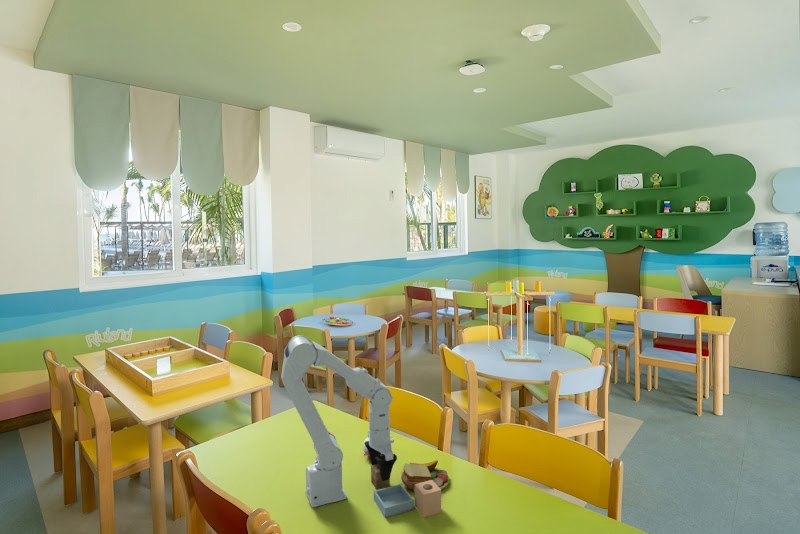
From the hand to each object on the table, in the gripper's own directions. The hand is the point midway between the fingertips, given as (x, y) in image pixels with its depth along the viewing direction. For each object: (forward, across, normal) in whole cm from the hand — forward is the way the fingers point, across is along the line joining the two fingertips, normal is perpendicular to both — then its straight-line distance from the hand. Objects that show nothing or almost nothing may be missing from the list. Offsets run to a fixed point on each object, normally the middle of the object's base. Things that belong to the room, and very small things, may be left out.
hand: (380, 472), depth 127 cm
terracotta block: (+3, -16, -7) cm, 17 cm away
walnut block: (+3, 0, 0) cm, 3 cm away
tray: (+3, -10, 0) cm, 11 cm away
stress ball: (+4, +16, -4) cm, 17 cm away
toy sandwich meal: (+4, -4, -12) cm, 13 cm away
